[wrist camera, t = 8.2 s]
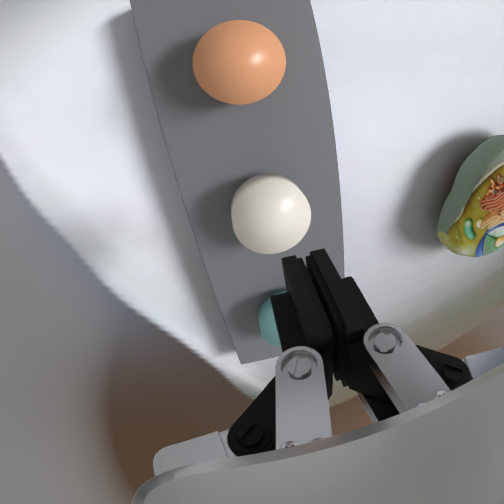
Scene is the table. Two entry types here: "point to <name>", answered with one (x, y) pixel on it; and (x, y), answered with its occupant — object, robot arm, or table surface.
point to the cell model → (476, 203)
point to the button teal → (268, 323)
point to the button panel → (244, 147)
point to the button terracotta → (239, 62)
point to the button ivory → (270, 213)
